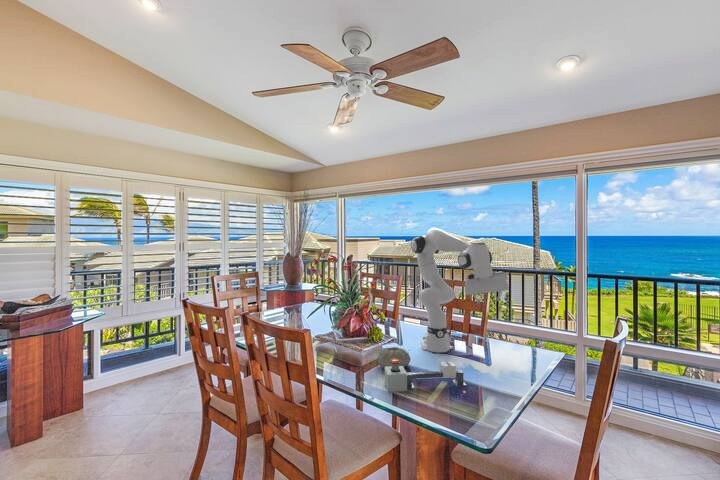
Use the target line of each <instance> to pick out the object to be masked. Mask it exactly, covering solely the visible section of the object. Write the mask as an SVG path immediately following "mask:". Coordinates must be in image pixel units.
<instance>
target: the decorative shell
mask: <svg viewBox="0 0 720 480" xmlns="http://www.w3.org/2000/svg"><path fill="white" fill-rule="evenodd" d="M393 358H397V359H399V360H400V363H399V366H403V367H404V368H405V367H407V366H408V365H409V364H410V362H411V356H410V354H409V352H407V350H405V348H404V349H403V348H401V347H398V346H392V347H385V348H382V349H381V350H380V351H379V352H378V355H377V363H378V365H379V366H380V367H381V368H383V369H385V367H389V366H392V363H391V359H393Z"/></svg>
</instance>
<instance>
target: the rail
mask: <svg viewBox="0 0 720 480" xmlns="http://www.w3.org/2000/svg"><path fill="white" fill-rule="evenodd" d="M406 373H407V390H415V389H416V388H415V386H414V383H413V380H414V379H415V380H416V379H434V378H443V372H442V371H440V370H439V371H418V372H417V371H416V372H409V371H408V372H407V371H406ZM451 382H452V383H453V384H454V385H455V387H456V388H459V387H460V388H462V387H467V385H468V384H466V382H465V381H464V371H463V370H462V369H456V377H454V379H452V380H451Z"/></svg>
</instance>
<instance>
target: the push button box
mask: <svg viewBox="0 0 720 480" xmlns="http://www.w3.org/2000/svg"><path fill="white" fill-rule="evenodd" d="M406 372H407V370H406V369H405V367H403V366H399V372H392V366H389V367H385V368H384V385H385V389H386V390H387V393H394V392H397V393H398V392H408V389H407V373H406Z"/></svg>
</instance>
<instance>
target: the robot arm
mask: <svg viewBox="0 0 720 480" xmlns="http://www.w3.org/2000/svg"><path fill="white" fill-rule="evenodd" d="M410 247H411V251H412V252H413V253H414V254H417V255H416V259H417V265H418V269H419V271H420V275H421V278H422V280H423V282H425V283H427V284H428V285H429V286H430V287H426V288H423V289H422V290H420V291H419V294H418V299H419V302H420V303H421V305H423V307H425V309H426V312H427V320H428V321H427V322H428V324H427V328H426V329H427V330H426V332H425V333H424V335H423V336H422V340H421V341H420V343H421V348H422V350H423V351H429V352H433V353H447V352H449V351H450V350H452V349H453V346H452V345H451V341H450V340H451V339H450V337H451V336H450V335H449V333H448V326H447V314H446V312H445V311H444V310H442V308H441V305H443V304H448V303H450V302H452V301H453V300H454V299H455V295H456V294H455V290H454V288H453V287H452V286H450V285H449V284H447V282H445V280H444V279H443V277H442V276H441V274H440V271H439V269H438V265H437V263H436V260H435V258H434V254H435V255H436V254H439V253H440V251H441V252H444V253H455V252H456V253H459V254H458V256H457V263H458V265H459V266H460V268H462V269H463V270H471V269H472V270H473V271H472V272H470V273H468V274H466V275H465V277H464V278H465V282H464V292H465V295H467V296H470V295H473V298H474V299H475V300H476V303H477V304H481V299H480V298H477V295H479V294H480V295H481V294H488V293H496V292H498V296H497V297H496V301H497V302H500V301H501V296H502V292H504V291H505V292H506V291H508V290H509V289H510V288H509V284H508V281H507V280H508V275H507V273H506V272H504V271H495V272H493V266H492V261H493V255H492V253H491V251H490V250H489V249H488V246H487V244H486V243H485V242H484V241H473V242H471V243H470V242H468V241H466V240H464V239H462V238H459V237H456V236H453V235H452V234H450V233H448V232H447V231H445V230H443V229H441V228H438V227H431V228H430V229H428V230H427V232H426V235H421V236H417V237H416V236H415V237H414V238H412V239H411V241H410Z"/></svg>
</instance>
